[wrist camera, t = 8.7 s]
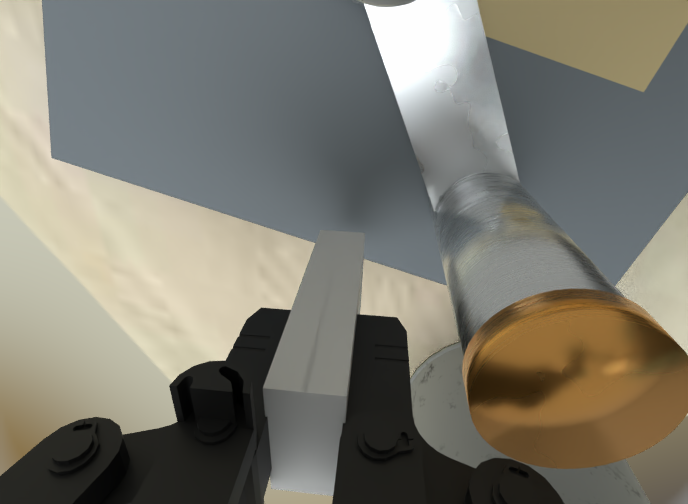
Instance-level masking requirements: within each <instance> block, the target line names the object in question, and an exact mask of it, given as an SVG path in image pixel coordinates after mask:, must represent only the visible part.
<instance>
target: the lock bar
mask: <svg viewBox="0 0 688 504" xmlns="http://www.w3.org/2000/svg"><path fill="white" fill-rule="evenodd" d="M352 1H353V2H354V3H356V4H358V5H359V6H361V7H364V8H366V11H367V14H368V17H369V20H370V23H371V26H372V29H373V32H374V35H375V38H376V40H377V43H378V46H379V49H380V52H381V55H382V58H383V61H384V64H385V67H386V70H387V73H388V76H389V79H390V82H391V85H392V88H393V91H394V94H395V97H396V100H397V102H398V105H399V108H400V111H401V114H402V117H403V120H404V123H405V126H406V129H407V132H408V135H409V138H410V141H411V144H412V147H413V150H414V153H415V156H416V159H417V162H418V164H419V167H420V170H421V173H422V176H423V179H424V182H425V185H426V188H427V191H428V194H429V208H430V212H431V216H432V221H433V225H434V230H435V234H436V238H437V243H438V247H439V252H440V256H441V260H442V265H443V269H444V274H445V278H446V282H447V287H448V291H449V296H450V300H451V304H452V309H453V313H454V318H455V322H456V327H457V331H458V335H459V340H460V344H461V349H462V353H463V357H464V358H463V364H462V375H463V382H464V387H465V391H466V396H467V401H468V406H469V410H470V415H471V418H472V422H473V424H474V426H475V428H476V430H477V431H478V432H479V434H480V435H481V437H482V438H483V439H484V440H485V441H486V442H487V443H488V444H489V445H491V446H492V447H493V448H495V449H496V450H497V451H499V452H501V453H502V454H504V455H506V456H508V457H510V458H512V459H515V460H517V461H520V462H523V463H526V464H530V465H535V466H539V467H546V468H556V469H579V468H589V467H596V466H601V465H606V464H610V463H614V462H618V461H621V460H624V459H626V458H629V457H632V456H634V455H636V454H639V453H641V452H643V451H645V450H647V449H648V448H650V447H652V446H654V445H655V444H657V443H658V442H660V441H661V440H662V439H664V438H665V437H666V436H668V435H669V434H670V433H671V432H672V431H673V430H675V428H676V427H677V426H678V425H679V424H680V423H681V422H682V421H683V419H684V418H685V416H686V415H687V413H688V355H687V354H686V352H685V351H684V350H683V349H682V348H681V347H680V346H679V345H678V344H677V343H676V342H675V341H674V339H673V338H672V337H671V336H670V335H669V334H668V333H667V332H666V331H665V330H664V329H663V328H662V327H661V326H660V325H659V324H658V323H657V322H656V321H655V320H654V318H653V317H652V316H651V315H650V314H649V313H648V312H647V311H646V310H644V309H643V308H642V307H640V306H639V305H638V304H636V303H634V302H632V301H630V300H629V299H627V298H625V297H624V296H623V295H622V294H621V292H620V291H619V290H618V289H617V288H616V287H615V286H614V285H613V284H612V283H611V282H610V280H609V279H608V278H607V277H606V276H605V275H604V274H603V273H602V272H601V271H600V270H599V269H598V267H597V266H596V265H595V264H594V263H593V262H592V261H591V260H590V259H589V258H588V257H587V255H586V254H585V253H584V252H583V251H582V250H581V249H580V248H579V247H578V246H577V245H576V243H575V242H574V241H573V240H572V239H571V238H570V237H569V236H568V235H567V234H566V233H565V232H564V230H563V229H562V228H561V227H560V226H559V225H558V224H557V223H556V222H555V221H554V220H553V218H552V217H551V216H550V215H549V214H548V213H547V212H546V211H545V210H544V209H543V208H542V207H541V205H540V204H539V203H538V202H537V201H536V200H535V199H534V198H533V197H532V196H531V195H530V193H529V192H528V191H527V190H526V189H525V188H524V187H523V186H522V185H521V184H520V181H519V177H518V173H517V168H516V164H515V160H514V156H513V151H512V147H511V143H510V139H509V134H508V130H507V126H506V122H505V117H504V113H503V109H502V105H501V100H500V96H499V92H498V87H497V83H496V79H495V75H494V70H493V66H492V62H491V58H490V53H489V49H488V45H487V41H486V36H485V32H484V28H483V24H482V19H481V15H480V11H479V6H478V2H477V0H352Z"/></svg>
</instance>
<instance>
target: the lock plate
mask: <svg viewBox="0 0 688 504" xmlns="http://www.w3.org/2000/svg"><path fill="white" fill-rule="evenodd" d="M477 2H478V6H479V11H480V15H481V19H482V24H483V28H484V32H485V36H486V41H487V45H488V49H489V53H490V58H491V62H492V66H493V70H494V75H495V79H496V83H497V87H498V92H499V96H500V100H501V105H502V109H503V113H504V117H505V122H506V126H507V130H508V134H509V139H510V143H511V147H512V151H513V156H514V160H515V164H516V168H517V173H518V177H519V181H520V184H521V185H522V186H523V187H524V188H525V189H526V190H527V191H528V192H529V193H530V195H531V196H532V197H533V198H534V199H535V200H536V201H537V202H538V203H539V204H540V205H541V207H542V208H543V209H544V210H545V211H546V212H547V213H548V214H549V215H550V216H551V217H552V218H553V220H554V221H555V222H556V223H557V224H558V225H559V226H560V227H561V228H562V229H563V230H564V232H565V233H566V234H567V235H568V236H569V237H570V238H571V239H572V240H573V241H574V242H575V243H576V245H577V246H578V247H579V248H580V249H581V250H582V251H583V252H584V253H585V254H586V255H587V257H588V258H589V259H590V260H591V261H592V262H593V263H594V264H595V265H596V266H597V267H598V269H599V270H600V271H601V272H602V273H603V274H604V275H605V276H606V277H607V278H608V279H609V280H610V282H611V283H612V284H613V285H614V286H615V285H616V284H617V283H618V281H619V280H620V279H621V278H622V276H623V275H624V274H625V272H626V271H627V270H628V268H629V267H630V266H631V265H632V263H633V262H634V261H635V259H636V258H637V257H638V256H639V254H640V253H641V252H642V250H643V249H644V248H645V247H646V245H647V244H648V243H649V241H650V240H651V239H652V238H653V236H654V235H655V234H656V232H657V231H658V230H659V229H660V227H661V226H662V225H663V223H664V222H665V221H666V220H667V218H668V217H669V216H670V214H671V213H672V212H673V210H674V209H675V208H676V207H677V205H678V204H679V203H680V201H681V200H682V199H683V198H684V196H685V195H686V194H687V192H688V0H477ZM42 9H43V25H44V42H45V58H46V74H47V91H48V107H49V123H50V140H51V156H52V158H54V159H57V160H60V161H63V162H66V163H69V164H72V165H76V166H79V167H82V168H85V169H88V170H91V171H94V172H97V173H100V174H103V175H106V176H110V177H113V178H116V179H119V180H122V181H125V182H128V183H131V184H134V185H137V186H141V187H144V188H147V189H150V190H153V191H156V192H159V193H162V194H165V195H168V196H171V197H175V198H178V199H181V200H184V201H187V202H190V203H193V204H196V205H199V206H202V207H206V208H209V209H212V210H215V211H218V212H221V213H224V214H227V215H230V216H233V217H236V218H240V219H243V220H246V221H249V222H252V223H255V224H258V225H261V226H264V227H267V228H271V229H274V230H277V231H280V232H283V233H286V234H289V235H292V236H295V237H298V238H301V239H305V240H308V241H311V242H314V243H316V241H317V238H318V235H319V233H320V230H330V231H344V232H359V233H365V242H364V258H363V259H367V260H370V261H373V262H376V263H379V264H382V265H385V266H388V267H391V268H394V269H397V270H401V271H404V272H407V273H410V274H413V275H416V276H419V277H422V278H425V279H428V280H432V281H435V282H438V283H441V284H444V285H447V282H446V278H445V274H444V269H443V265H442V260H441V256H440V252H439V247H438V243H437V238H436V234H435V230H434V225H433V221H432V216H431V212H430V208H429V194H428V191H427V188H426V185H425V182H424V179H423V176H422V173H421V170H420V167H419V164H418V162H417V159H416V156H415V153H414V150H413V147H412V144H411V141H410V138H409V135H408V132H407V129H406V126H405V123H404V120H403V117H402V114H401V111H400V108H399V105H398V102H397V100H396V97H395V94H394V91H393V88H392V85H391V82H390V79H389V76H388V73H387V70H386V67H385V64H384V61H383V58H382V55H381V52H380V49H379V46H378V43H377V40H376V38H375V35H374V32H373V29H372V26H371V23H370V20H369V17H368V14H367V11H366V8H364V7H361V6H359V5H358V4H356V3H354V2H353V1H352V0H42Z"/></svg>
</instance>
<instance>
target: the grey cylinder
mask: <svg viewBox="0 0 688 504" xmlns="http://www.w3.org/2000/svg"><path fill="white" fill-rule="evenodd" d="M463 358H464V357H463V353H462V349H461V344H460V342H459V343H456V344H453V345H450V346H448V347H445V348H444V349H442V350H440V351H439V352H437V353H435V354H434V355H432V356H430V357H429V358H428V359H427V360H426V361H425V362H424V363H423V364H421V365H420V366H419V367H418V368H417V369H416V371H415V373H414V374H413V376H412V377H411V379H410V384H411V398H412V411H413V418H414V423H415V426H416V428H417V430H418V432H419V433H420V435H421V436H422V437H423V439H424V440H425V441H426V442H427V443H428V444H429V445H430V446H431V447H433V448H434V449H435V450H437V451H438V452H440V453H442V454H444V455H445V456H447V457H449V458H452V459H454V460H456V461H459V462H461V463H464V464H466V465H469V466H471V467H473V468H477V466H478V465H479V464H480V463H481V462H484V461H487V460H489V459H492V458H507V459H512V458H510V457H508V456H506V455H504V454H502V453H501V452H499V451H497V450H496V449H495V448H493V447H492V446H491V445H489V444H488V443H487V442H486V441H485V440H484V439H483V438H482V437H481V435H480V434H479V432H478V431H477V430H476V428H475V426H474V424H473V422H472V418H471V415H470V410H469V406H468V401H467V396H466V391H465V387H464V382H463V375H462V364H463ZM513 460H515V459H513ZM515 461H517V460H515ZM518 462H520V461H518ZM520 463H523V462H520ZM523 464H526V463H523ZM526 465H528V466H530V467H531V468H532V469H534V470H535V471H537V472H538V473H539V474H541V475H542V476H543V477H545V478H546V479H547V481H548V482H549V483H550V484H551V485H552V487H553V488H554V489H555V490H556V491H557V493H558V494H559V496H560V497H561V499H562V500H563V502H564V504H651V503H650V502H649V500H648V498H647V496H646V494H645V493H644V491H643V489H642V487H641V486H640V484H639V482H638V480H637V478H636V477H635V475H634V473H633V471H632V470H631V468H630V466H629V464H628V463H627V461H626V459H624V460H621V461H618V462H614V463H610V464H606V465H601V466H596V467H589V468H579V469H556V468H546V467H539V466H535V465H530V464H526Z"/></svg>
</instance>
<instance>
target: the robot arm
mask: <svg viewBox="0 0 688 504" xmlns="http://www.w3.org/2000/svg"><path fill="white" fill-rule="evenodd" d="M364 242H365V233H359V232H344V231H330V230H320V233H319V235H318V238H317V241H316V244H315V246H314V249H313V252H312V254H311V257H310V260H309V263H308V265H307V268H306V271H305V274H304V276H303V279H302V282H301V285H300V287H299V290H298V293H297V296H296V298H295V301H294V304H293V307H292V309H291V310H283V309H271V308H260V309H259V310H258V311H257V312H256V313H254V314H253V315H252V316H251V317H249V318H248V319H247V320H246V322H245V324H244V326H243V328H242V330H241V332H240V335H239V337H238V338H237V340H236V342H235V344H234V346H233V349H231V351H230V353H229V355H228V357H227V359H226V361H209V362H206V363H202V364H199V365H196V366H193V367H191V368H190V369H188V370H186V371H185V372H183V373H181V374H180V375H179V376H178V377H177V378H176V379H175V380H174V381H173V382H172V383H171V384H170V386H169V387H170V391H171V395H172V400H173V404H174V408H175V412H176V417H177V421H178V422H176V423H174V424H172V425H169V426H165V427H162V428H159V429H152V430H147V431H141V432H136V433H130V434H125V435H122V432H121V429H120V426H119V425H118V424H116V423H115V422H113V421H112V420H111V419H106V418H99V417H93V418H88V419H82V420H78V421H75V422H73V423H70V424H68V425H66V426H64V427H61V428H59V429H58V430H57V431H55V432H54V433H52V434H51V435H49V436H48V437H46V438H45V439H43V440H42V441H41V442H40V443H39V444H38V445H36V446H35V447H34V448H33V449H32V450H31V451H29V452H28V453H27V454H26V455H25V456H23V457H22V458H21V459H20V460H19V461H18V462H16V463H15V464H14V465H13V466H12V467H10V468H9V469H8V470H7V471H6V472H5V473H3V474H2V475H1V476H0V504H264V495H265V491H266V488H267V484H268V480H269V477H270V480H271V489H278V490H287V491H295V492H304V493H311V494H320V495H329V496H333V503H332V504H564V502H563V500H562V499H561V497H560V496H559V494H558V493H557V491H556V490H555V489H554V488H553V487H552V485H551V484H550V483H549V482H548V481H547V479H546V478H545V477H543V476H542V475H541V474H539V473H538V472H537V471H535V470H534V469H532V468H531V467H530V466H528V465H526V464H523V463H520V462H518V461H515V460H513V459H507V458H492V459H489V460H487V461H484V462H481V463H480V464H479V465H478V466H477V468H473V467H471V466H469V465H466V464H464V463H461V462H459V461H456V460H454V459H452V458H449V457H447V456H445V455H444V454H442V453H440V452H438V451H437V450H435V449H434V448H433V447H431V446H430V445H429V444H428V443H427V442H426V441H425V440H424V439H423V437H422V436H421V435H420V433H419V432H418V430H417V428H416V426H415V423H414V418H413V411H412V398H411V384H410V371H409V357H408V344H407V331H406V330H405V328H404V327H403V326H402V324H401V323H400V321H399V320H398V318H396V317H384V316H371V315H360V307H361V291H362V275H363V258H364Z"/></svg>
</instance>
